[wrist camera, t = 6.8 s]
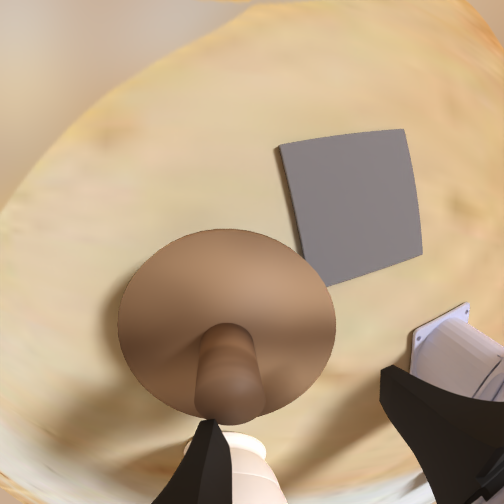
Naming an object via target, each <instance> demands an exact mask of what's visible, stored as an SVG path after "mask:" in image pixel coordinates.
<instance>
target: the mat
mask: <svg viewBox="0 0 504 504" xmlns="http://www.w3.org/2000/svg"><path fill="white" fill-rule="evenodd" d="M279 150H280V154H281V158H282V162H283V166H284V170H285V174H286V178H287V182H288V186H289V191H290V195H291V199H292V204H293V208H294V213H295V217H296V222H297V227H298V231H299V236H300V241H301V246H302V251H303V256H304V260H306V261H307V262H308V263H309V264H310V266H311V267H312V268H313V269H314V270H315V271H316V272H317V273H318V275H319V276H320V278H321V279H322V281H323V282H324V283H325V286H326V287H328V286H331V285H334V284H337V283H340V282H344V281H347V280H350V279H353V278H356V277H359V276H362V275H365V274H368V273H371V272H374V271H377V270H380V269H383V268H386V267H389V266H392V265H394V264H397V263H400V262H403V261H406V260H408V259H411V258H414V257H417V256H419V255H422V254H423V251H422V236H421V225H420V215H419V207H418V199H417V192H416V186H415V180H414V174H413V168H412V163H411V158H410V153H409V149H408V144H407V140H406V136H405V132H404V129H395V130H382V131H371V132H362V133H353V134H345V135H337V136H330V137H323V138H316V139H310V140H304V141H298V142H292V143H287V144H282V145H279Z"/></svg>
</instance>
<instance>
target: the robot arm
mask: <svg viewBox="0 0 504 504" xmlns="http://www.w3.org/2000/svg"><path fill="white" fill-rule="evenodd" d="M469 309H470V304H469V303H468V302H465V303H464V304H462V305H460V306H458V307H457V308H455V309H453V310H451V311H449V312H448V313H446V314H444V315H442V316H440V317H438V318H437V319H435V320H433V321H431V322H429V323H427V324H425V325H423V326H421V327H419V328H417V329H416V330H415V331H414V333H413V343H412V355H411V366H410V374H409V373H408V372H406V371H404V370H402V369H400V368H398V367H396V366H394V365H391V366H389V367H387V368H384V369H382V370H381V380H380V400H379V401H380V403H381V405H382V407H383V409H384V411H385V413H386V414H387V416H388V418H389V419H390V421H391V422H392V424H393V425H394V426H395V428H396V429H397V431H398V432H399V433H400V435H401V436H402V437H403V439H404V440H405V442H406V443H407V444H408V446H409V447H410V448H411V450H412V451H413V453H414V455H415V456H416V458H417V460H418V462H419V464H420V466H421V468H422V469H423V472H424V474H425V476H426V478H427V480H428V482H429V484H430V487H431V489H432V492H433V494H434V497H435V499H436V502H437V504H504V347H503V346H502V345H500V344H499V343H497V342H496V341H494V340H493V339H491V338H490V337H488V336H487V335H485V334H484V333H482V332H480V331H479V330H477V329H476V328H474V327H473V326H471V325H469V324H468V317H469ZM151 504H232V461H231V453H230V446H229V444H228V442H227V440H226V438H225V437H224V435H223V433H222V431H221V429H220V428H219V426H218V424H217V422H216V420H215V419H210V420H203V421H201V422H200V423H199V425H198V428H197V430H196V432H195V435H194V437H193V439H192V441H191V443H190V446H189V448H188V450H187V452H186V454H185V456H184V458H183V459H182V461H181V463H180V465H179V466H178V468H177V470H176V472H175V473H174V475H173V476H172V478H171V479H170V481H169V482H168V484H167V485H166V487H165V488H164V489H163V490H162V492H161V493H160V494H159V495H158V497H157V498H156V499H155V500H154V501H153V502H152V503H151Z"/></svg>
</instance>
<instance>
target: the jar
mask: <svg viewBox="0 0 504 504" xmlns="http://www.w3.org/2000/svg"><path fill="white" fill-rule="evenodd" d="M222 433H223V435H224V437H225V438H226V440H227V442H228V444H229V446H230V453H231V461H232V504H288V503H287V500H286V498H285V496H284V494H283V492H282V491H281V489H280V486H279V483H278V481H277V478H276V476H275V474H274V472H273V471H272V469H271V468H270V466H269V465H268V464H267V463H266V462H265V461H264V460H265V457H266V449H265V447H264V445H263V444H262V443H261V442H260V441H259V440H257V439H256V438H254V437H252V436H249V435H246V434H242V433H237V432H222ZM191 441H192V440H191ZM191 441H190V442H189V443H188V444H187V445H186V446H185V449H184V456H185V454H186V452H187V450H188V448H189V446H190V443H191Z"/></svg>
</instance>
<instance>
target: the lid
mask: <svg viewBox="0 0 504 504" xmlns="http://www.w3.org/2000/svg"><path fill="white" fill-rule="evenodd" d="M335 334H336V317H335V311H334V306H333V303H332V299H331V296H330V294H329V292H328V290H327V288H326V286H325V283H324V282H323V281H322V279H321V278H320V276H319V275H318V273H317V272H316V271H315V270H314V269H313V268H312V267H311V266H310V264H309V263H308V262H307V261H306V260H304V259H303V258H302V257H301V256H300V255H298V254H297V253H296V252H295V251H293V250H292V249H291V248H289V247H288V246H286V245H284V244H282V243H281V242H279V241H277V240H275V239H272V238H270V237H268V236H265V235H262V234H259V233H255V232H251V231H246V230H238V229H213V230H206V231H200V232H197V233H193V234H190V235H186V236H184V237H182V238H179V239H177V240H175V241H173V242H171V243H169V244H168V245H166V246H165V247H163V248H161V249H160V250H159V251H157V252H156V253H155V254H154V255H153V256H152V257H150V258H149V259H148V260H147V261H146V262H145V263H144V264H143V265H142V266H141V267H140V269H139V270H138V271H137V272H136V273H135V274H134V276H133V277H132V279H131V281H130V282H129V284H128V286H127V287H126V290H125V292H124V295H123V297H122V300H121V304H120V308H119V313H118V336H119V341H120V346H121V350H122V352H123V355H124V357H125V360H126V362H127V364H128V366H129V368H130V369H131V371H132V373H133V374H134V375H135V377H136V378H137V379H138V381H139V382H140V383H141V384H142V385H143V386H144V387H145V388H146V389H147V390H148V391H149V392H150V393H151V394H152V395H154V396H155V397H156V398H157V399H159V400H160V401H162V402H163V403H165V404H167V405H168V406H170V407H172V408H174V409H176V410H178V411H181V412H183V413H186V414H189V415H192V416H196V417H199V418H205V419H207V420H210V419H215V420H216V422H217V424H220V425H239V424H243V423H246V422H249V421H251V420H253V419H254V418H256V417H259V416H262V415H265V414H268V413H271V412H274V411H276V410H278V409H280V408H282V407H284V406H286V405H287V404H289V403H291V402H292V401H294V400H295V399H297V398H298V397H299V396H301V395H302V394H303V393H304V392H305V391H306V390H307V389H308V388H309V387H311V386H312V384H313V383H314V382H315V381H316V380H317V378H318V377H319V376H320V374H321V373H322V371H323V369H324V368H325V366H326V364H327V362H328V360H329V358H330V355H331V352H332V349H333V346H334V341H335Z"/></svg>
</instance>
